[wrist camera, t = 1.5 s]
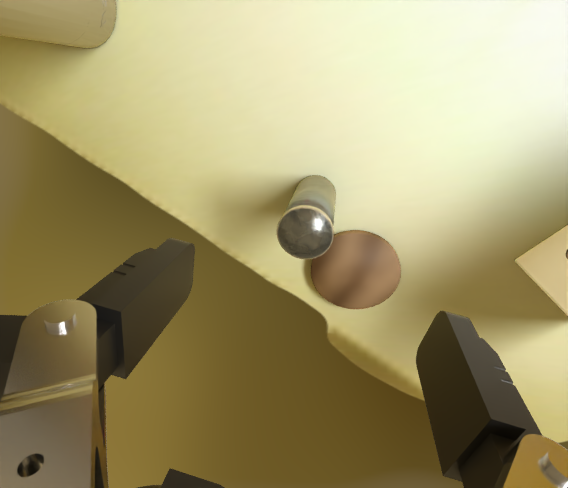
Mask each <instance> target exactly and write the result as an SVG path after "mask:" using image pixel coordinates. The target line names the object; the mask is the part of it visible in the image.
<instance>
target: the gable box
mask: <svg viewBox="0 0 568 488" xmlns="http://www.w3.org/2000/svg"><path fill="white" fill-rule="evenodd" d="M515 262H516V263H517V264H518V265H519V266H520V267H521V268H522V269H523V271H524V272H525V273H526V274H527V275H528V276H529V277H530V278H531V279H532V280H533V281H534V282H535V283H536V284H537V285H538V286H539V287H540V288H541V289H542V290H543V291H544V292H545V293H546V294H547V295H548V296H549V297H550V299H551V300H552V301H553V302H554V303H555V304H556V305H557V306H558V307H559V308H560V309H561V310H562V311H563V312H564V313H565V314H566V315H567V316H568V225H567V226H565V227H564V228H562V229H561V230H559V231H558V232H556V233H555V234H553V235H552V236H550V237H548V238H547V239H545V240H544V241H542V242H541V243H539V244H538V245H536V246H535V247H533V248H532V249H530V250H529V251H527V252H526V253H524V254H523V255H521V256H520V257H518V258H517V259H515Z"/></svg>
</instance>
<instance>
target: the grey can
mask: <svg viewBox="0 0 568 488" xmlns="http://www.w3.org/2000/svg"><path fill="white" fill-rule="evenodd" d="M335 200H336V191H335V188H334V186H333V184H332V183H331V182H330V181H329V180H328V179H327V178H325V177H323V176H319V175H312V176H308V177H306V178H304V179H303V180H302V181H301V182H300V183H299V184H298V186H297V188H296V190H295V192H294V194H293V196H292V198H291V200H290V203H289V205H288V207H287V209H286V211H285V213H284V215H283V216H282V217H281V219H280V221H279V223H278V226H277V238H278V241H279V243H280V245H281V247H282V248H283V249H284V250H285V251H286V252H287V253H288V254H290V255H292V256H294V257H296V258H300V259H313V258H317V257H319V256H321V255H323V254H324V253H325V252H326V251H327V250H328V249H329V248H330V246H331V244H332V242H333V236H334V228H333V223H334V211H335Z"/></svg>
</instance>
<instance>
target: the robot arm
mask: <svg viewBox="0 0 568 488" xmlns="http://www.w3.org/2000/svg"><path fill="white" fill-rule="evenodd" d="M115 20H116V2H115V0H0V36H7V37H13V38H20V39H27V40H34V41H41V42H48V43H55V44H60V45H67V46H74V47H81V48H94V47H97V46H100V45H101V44H103V43H104V42H105V41H106V40H107V39H108V38H109V37H110V35H111V33H112V31H113V29H114V25H115ZM194 254H195V247H194V244H192V243H188V242H185V241H181V240H177V239H174V238H169V239H167V240H166V241H165V242H164V243H163V244H162V245H160V246H159V247H158V248H157V249H153V248H149V249H146V250H144V251H141V252H138V253H136V254H134V255H133V256H131V257H130V258H129V259H128V260H126V261H125V262H124V263H123V265H120V266H119V267H117V268H116V269H115V270H114V272H111V273H110V274H109V275H107V276H106V277H105V278H103V279H102V280H101V281H99V282H98V283H97V284H96V285H94V286H93V287H92V288H91V289H89V290H88V291H87V292H85V293H84V294H83V295H82V296H80V297H79V298H78V299H76V300H62V301H56V302H52V303H49V304H46V305H44V306H41V307H39V308H38V309H36V310H34V311H33V312H32V313H30V314H29V315H28V316H17V315H16V316H15V315H0V488H109V486H108V472H107V447H106V390H105V381H106V380H107V379H108V378H109V376H110V375H114V376H117V377H121V378H124V379H126V378H127V377H128V376H129V374H130V373H131V372H132V370H133V369H134V368H135V366H136V365H137V364H138V362H139V361H140V360H141V359H142V357H143V356H144V355H145V353H146V352H147V351H148V349H149V348H150V347H151V346H152V344H153V343H154V342H155V340H156V339H157V338H158V336H159V335H160V334H161V332H162V331H163V329H164V328H165V327H166V326H167V325H168V323H169V322H170V321H171V319H172V318H173V317H174V315H175V314H176V313H177V311H178V310H179V309H180V307H181V306H182V305H183V304H184V302H185V301H186V299H187V298H188V296H189V293H190V291H191V287H192V282H193V267H194ZM416 365H417V369H418V374H419V378H420V382H421V386H422V390H423V394H424V399H425V403H426V407H427V411H428V415H429V419H430V424H431V428H432V432H433V436H434V440H435V444H436V449H437V452H438V457H439V461H440V465H441V469H442V473H443V476H445V477H449V478H452V479H455V480H458V481H461V482H463V486H464V488H568V450H567V449H566V448H564V447H563V446H561V445H560V444H558V443H557V442H555V441H553V440H551V439H549V438H547V437H544V436H542V434H541V432H540V430H539V428H538V427H537V425H536V423H535V421H534V419H533V418H532V416H531V414H530V412H529V410H528V409H527V407H526V405H525V403H524V401H523V399H522V398H521V396H520V394H519V392H518V390H517V389H516V387H515V386H514V385H513V381H512V379H511V378H510V376H509V374H508V372H505V370H506V369H505V367H504V365H503V363H502V361H501V360H500V358H499V356H498V354H497V353H496V352H495V351H494V350H493V349H492V348H491V347H490V346H489V344H488V343H487V342H486V341H485V340H484V339H482V338H479V336H478V334H477V332H476V330H475V328H474V326H473V324H472V322H471V321H470V319H469V318H467V317H464V316H460V315H456V314H453V313H449V312H445V311H440V312H439V313H438V314H437V315H436V317H435V318H434V320H433V322H432V324H431V326H430V327H429V329H428V331H427V333H426V334H425V336H424V338H423V340H422V342H421V343H420V345H419V347H418V351H417V356H416ZM138 488H224V487H222V486H221V485H219V484H216V483H213V482H210V481H207V480H204V479H201V478H198V477H195V476H191V475H189V474H186V473H182V472H179V471H176V470H173V469H169V471H168V473H167V475H166V477H165V480H164V482H163V484H162V485H150V486H143V487H138Z"/></svg>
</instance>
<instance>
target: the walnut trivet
mask: <svg viewBox="0 0 568 488" xmlns="http://www.w3.org/2000/svg"><path fill="white" fill-rule="evenodd" d="M311 277H312V281H313V283H314V286H315V288H316V289H317V291H318V292H319V293H320V294H321V295H322V296H323V297H324V298H325V299H326V300H328V301H329V302H331V303H333V304H335V305H337V306H340V307H343V308H348V309H364V308H369V307H373V306H375V305H378V304H380V303H382V302H383V301H385V300H386V299H387V298H389V297H390V296H391V295H392V294H393V292H394V291H395V290H396V288H397V286H398V284H399V281H400V277H401V267H400V263H399V259H398V256H397V254H396V252H395V250H394V249H393V247H392V246H391V245H390V244H389V243H388V242H387V241H386V240H385V239H383V238H382V237H380V236H378V235H376V234H373V233H370V232H367V231H360V230H350V231H344V232H341V233H338V234H335V235H334V236H333V242H332V244H331V246H330V248H329V249H328V250H327V251H326V252H325V253H324V254H323V255H321V256H319V257H317V258H313V261H312V266H311Z"/></svg>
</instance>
